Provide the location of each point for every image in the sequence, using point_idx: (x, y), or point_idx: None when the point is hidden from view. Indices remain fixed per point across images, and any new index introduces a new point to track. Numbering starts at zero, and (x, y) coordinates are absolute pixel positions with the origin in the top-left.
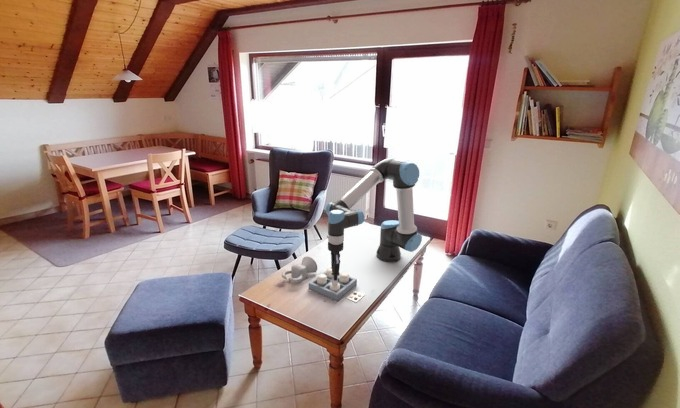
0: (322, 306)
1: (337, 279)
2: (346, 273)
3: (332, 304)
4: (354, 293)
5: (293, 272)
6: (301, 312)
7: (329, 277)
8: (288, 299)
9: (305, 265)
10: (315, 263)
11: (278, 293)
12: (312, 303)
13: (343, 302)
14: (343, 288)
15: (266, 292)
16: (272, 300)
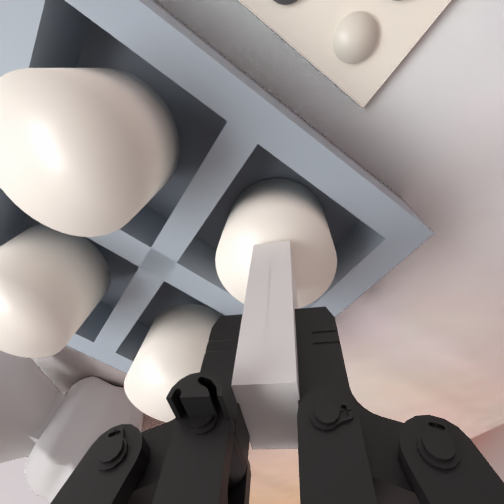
0: (437, 301)
1: (293, 296)
2: (2, 122)
3: (432, 236)
4: None
5: None
6: (464, 397)
7: (101, 292)
8: None
9: (17, 450)
10: None
11: (269, 464)
12: (385, 352)
13: (426, 138)
14: (309, 157)
15: (262, 491)
16: None
